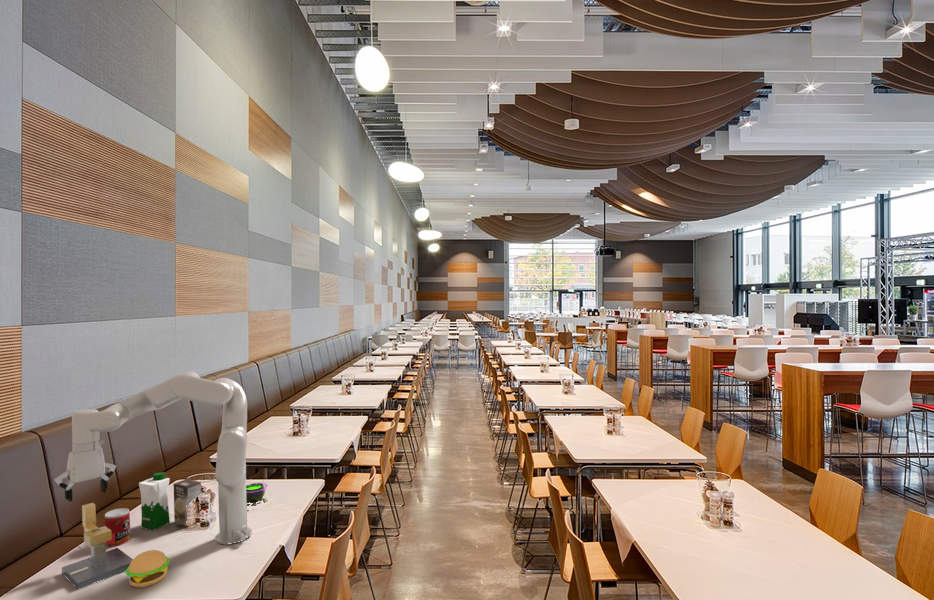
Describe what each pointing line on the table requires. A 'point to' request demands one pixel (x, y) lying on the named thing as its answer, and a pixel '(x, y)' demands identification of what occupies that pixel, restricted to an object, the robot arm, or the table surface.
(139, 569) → the hamburger
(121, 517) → the canned food
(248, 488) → the toy cauldron
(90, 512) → the wooden zigzag joint
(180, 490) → the coffee box
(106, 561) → the grey slotted plate
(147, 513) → the milk carton
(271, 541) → the table surface
